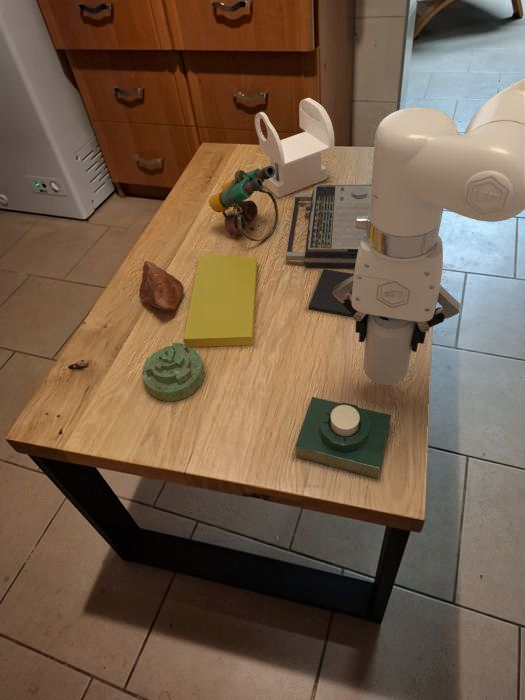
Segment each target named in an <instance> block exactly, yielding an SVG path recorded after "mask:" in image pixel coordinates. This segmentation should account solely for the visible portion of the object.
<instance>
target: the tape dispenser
mask: <svg viewBox="0 0 525 700" xmlns="http://www.w3.org/2000/svg"><path fill="white" fill-rule="evenodd" d="M298 118H299V128H300V129H301V130H302V131H303V132H300V133H297V134H295V135H291V136H288V137H286V138H283V139H280V136H279V134H278V132H277V130H276V128H275V127H274V125H273V124H272V123H271V121H270V119H269V117H268V115H267V114H266V113H265V112H263V111H260V112H258V113H256V114H255V116H254V127H255V132H256V134H257V138H258V143H259V150H260V152H261V153H263V154H264V155H266V156H267V157H268V158H269V161H270V166H273V167H274V168H275V175H274V176H273V177H271V178H269V179H267V180H266V179H265V186H266V187H265V188H267V190H269V192H271V193H272V194H274V196H275V197H277V198H278V199H279V198H281V197H284V196H287V195H289V194H292V193H294V192H297V191H299V190H303V189H305V188H307V187H310V186H312V185H316V184H318V183H321V182H323V181H325V180H328V168H327V167H326V166H325V165H324V164H322V154H323V153H325V152H327V151H329V150H333V149H335V143H336V142H335V132H334V127H333V124H332V120H331V117H330V115H329V114H328V112H327V111H326V109H325V108H324V106H323V105H322V104H321V103H319V102H317V101H316V100H314V99H312V98H310V97H306V98H303V99H301V100H300V102H299V105H298ZM261 120H262V121H263V123H264V125H265V128H266V132H267V138H266V137H265V136H264V134H263V132H262V131H263V130H262V128H261Z"/></svg>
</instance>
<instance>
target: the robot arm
mask: <svg viewBox="0 0 525 700" xmlns="http://www.w3.org/2000/svg"><path fill="white" fill-rule="evenodd" d="M373 143H374V145H373V157H372V158H373V159H372V173H371V174H372V175H371V184H372V187H371V204H370V213H368V216H364V217H357V220H356V228H358V229H362V230H365V232H366V233H365V234H364V237H363V238H362V240H361V243H360V246H359V249H358V253H357V258H356V264H355V269H354V272H353V274H354V275H353V276H351V277H350V278H348V279H346V280H344V281H343V282H341V283H339V284H337V285H336V286H335V288H334V290H333V295H334V296H335V297H336V298H337V299H338V300H339V301H340V302H342V303H343V306H344V307H345V308H346V309H347V310H348V311H349V312H350V313H352V314H353V315H354V316H353V317H352V319H353V320H354V321H355V329H354V330H355V331H354V332H355V333H356V334H358V343H365V340H366V327H367V317H368V315H369V314H371V315H376V316H382V317H389V318H395V319H402V320H408V321H416V327H415V332H414V338H413V343H412V349H411V351H412V352H414V353H417V351H418V346H419V344H422V345H424V344H425V339H426V334H427V332H429V331H430V328H432V327H435V326H437V325H439V324H441V323H444V321H445V320H446V319H450V318H452V317H454V316H456V315H458V314H459V313H460V310H461V304H460V302H459V301H458V300H457V299H456V298H455V297H454V296H452V294H451V293H450V292H448V291H447V289H446V288H444V287H443V286H442V284H441V282H442V277H443V267H444V260H443V259H444V245H443V240H442V238H441V236H440V229H441V223H442V218H443V213H444V210H445V211H449V212H452V213H454V214H457V215H459V216H462V217H464V218H467V219H471V220H474V221H479V222H487V223H497V222H503V221H507V220H510V219H512V218H515V217H516V216H518V215H519V214H521V213H523V212H524V211H525V77H524V78H522V79H520V80H519V81H516V82H515V83H513V84H511V85H509V86H508V87H505V88H504V89H503V90H501V91H499V92H498V93H497V94H495V95H494V96H492V97H490V98H489V99H488V100H487V101H486V102H485V103H483V104H482V105H481V106H480V107H479V108H478V109H477V110H476V112H475V113H474V114H473V116H472V117H471V118H470V121H469V122H468V125H467V126H466V128H465V131H464V133H459V132H458V128H457V124H456V122H455V121H454V119H453V118H452V117H451V116H450V115H449V114H447V112H445V111H442V110H439V109H436V108H433V107H432V108H431V107H421V106H418V107H417V106H416V107H407V108H403V109H398V110H396V111H394V112H391V113H390V114H388V115H387V116H385V117H384V118H383V119H382V120H381V121H380V122H379V124H378V126H377V128H376V131H375V135H374V142H373ZM350 291H352V294H349V292H350ZM357 298H358V299H357ZM438 304H439V305H440V306H438V307H437V305H438Z"/></svg>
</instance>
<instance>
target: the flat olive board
mask: <svg viewBox="0 0 525 700" xmlns="http://www.w3.org/2000/svg"><path fill="white" fill-rule="evenodd" d="M197 258H198V259H197V264H196V270H195V275H194V280H193V286H192V291H191V297H190V302H189V307H188V312H187V319H186V323H185V330H184V334H183V342H184V345H186V346H187V347H189V348H204V347H207V348H208V347H234V346H235V347H236V346H254V339H255V338H254V336H255V320H256V319H255V318H256V303H257V283H258V266H259V265H258V258H257V257H247V256H234V255H222V254H207V253H199V254H198V257H197Z"/></svg>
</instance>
